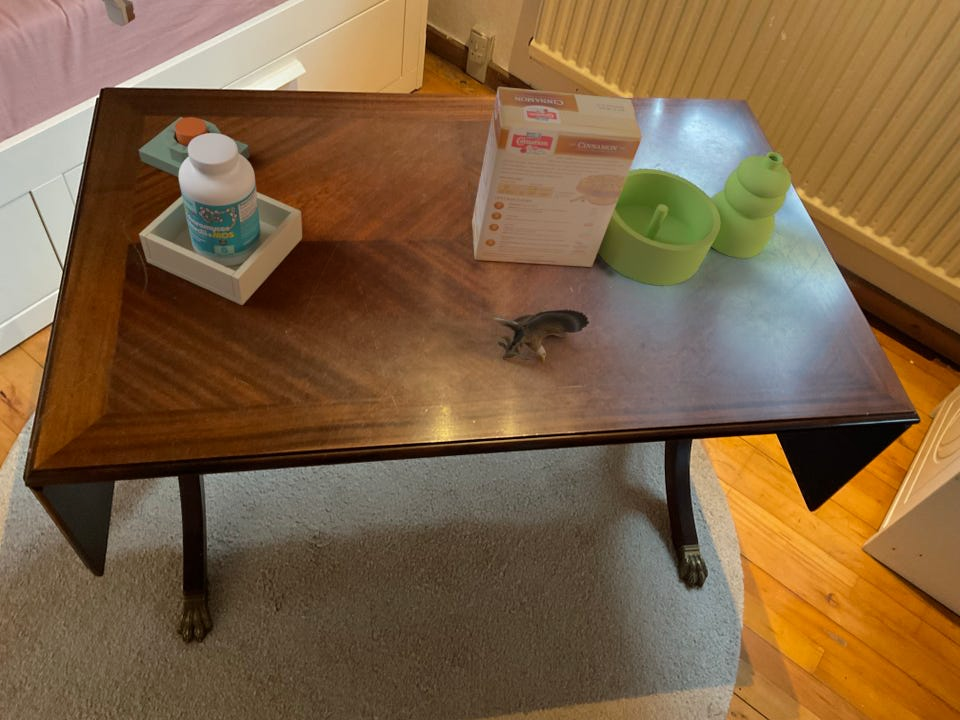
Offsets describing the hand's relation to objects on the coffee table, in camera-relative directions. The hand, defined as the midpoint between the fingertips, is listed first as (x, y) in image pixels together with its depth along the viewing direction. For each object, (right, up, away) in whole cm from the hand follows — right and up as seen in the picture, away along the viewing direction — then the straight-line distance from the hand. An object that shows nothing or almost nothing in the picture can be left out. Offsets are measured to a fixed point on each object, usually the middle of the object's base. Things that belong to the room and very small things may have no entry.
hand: (157, 0), depth 70 cm
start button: (-4, -7, +20) cm, 22 cm away
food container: (+57, -18, +28) cm, 66 cm away
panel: (-5, -9, +22) cm, 25 cm away
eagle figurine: (+36, -33, +13) cm, 50 cm away
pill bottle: (+2, -21, +14) cm, 25 cm away
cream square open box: (+2, -21, +14) cm, 26 cm away
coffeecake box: (+37, -20, +23) cm, 47 cm away
